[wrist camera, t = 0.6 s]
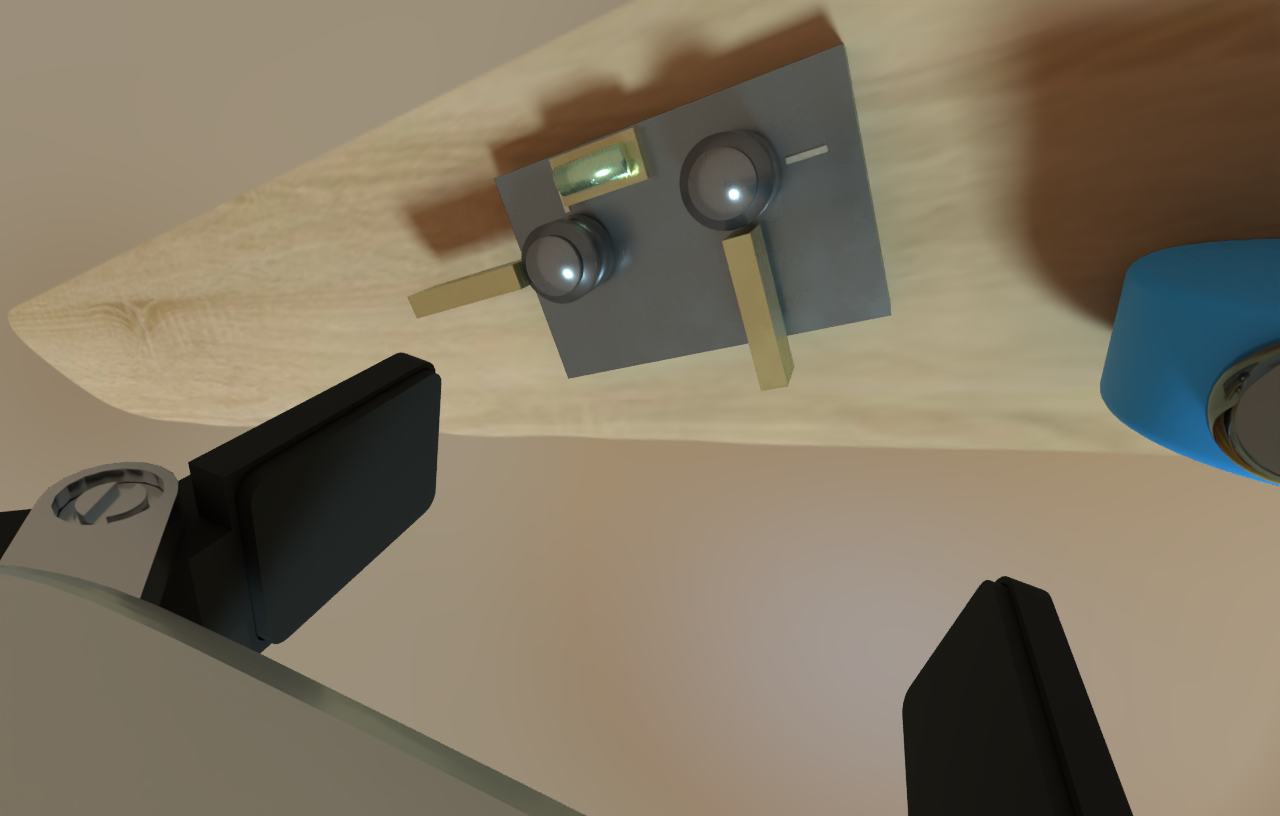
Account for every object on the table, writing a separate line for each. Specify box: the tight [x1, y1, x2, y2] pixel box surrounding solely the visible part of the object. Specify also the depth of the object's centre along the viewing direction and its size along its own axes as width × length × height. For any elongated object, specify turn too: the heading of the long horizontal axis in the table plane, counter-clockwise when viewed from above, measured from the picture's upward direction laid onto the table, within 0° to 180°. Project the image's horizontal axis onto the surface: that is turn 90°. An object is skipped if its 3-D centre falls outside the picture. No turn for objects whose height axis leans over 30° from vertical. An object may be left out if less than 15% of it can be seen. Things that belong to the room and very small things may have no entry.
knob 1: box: [408, 215, 615, 318], centre depth 36 cm, size 13×4×4 cm, turn 108°
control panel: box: [494, 44, 891, 379], centre depth 34 cm, size 20×13×4 cm, turn 108°
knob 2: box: [679, 130, 794, 391], centre depth 31 cm, size 13×4×4 cm, turn 18°
